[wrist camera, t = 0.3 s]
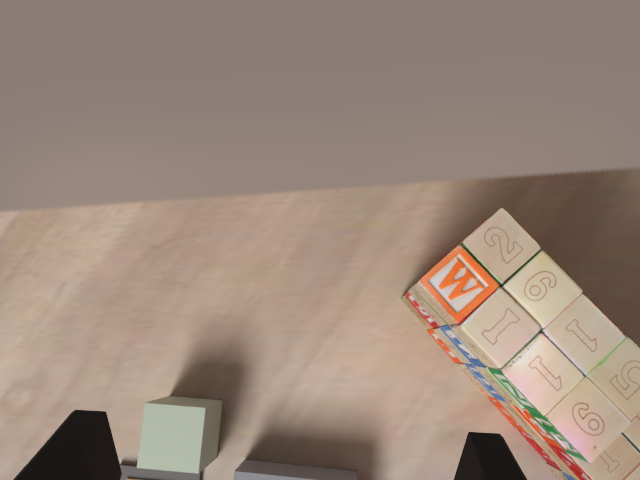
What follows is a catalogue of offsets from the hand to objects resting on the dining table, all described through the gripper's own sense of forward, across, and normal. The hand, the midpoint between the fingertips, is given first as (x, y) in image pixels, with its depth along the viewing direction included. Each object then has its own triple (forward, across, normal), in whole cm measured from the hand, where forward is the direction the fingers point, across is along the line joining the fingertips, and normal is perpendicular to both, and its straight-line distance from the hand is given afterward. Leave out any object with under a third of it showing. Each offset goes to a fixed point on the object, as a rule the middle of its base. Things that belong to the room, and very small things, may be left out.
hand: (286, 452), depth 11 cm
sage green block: (+19, +8, +24) cm, 32 cm away
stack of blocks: (+21, -16, +20) cm, 33 cm away
